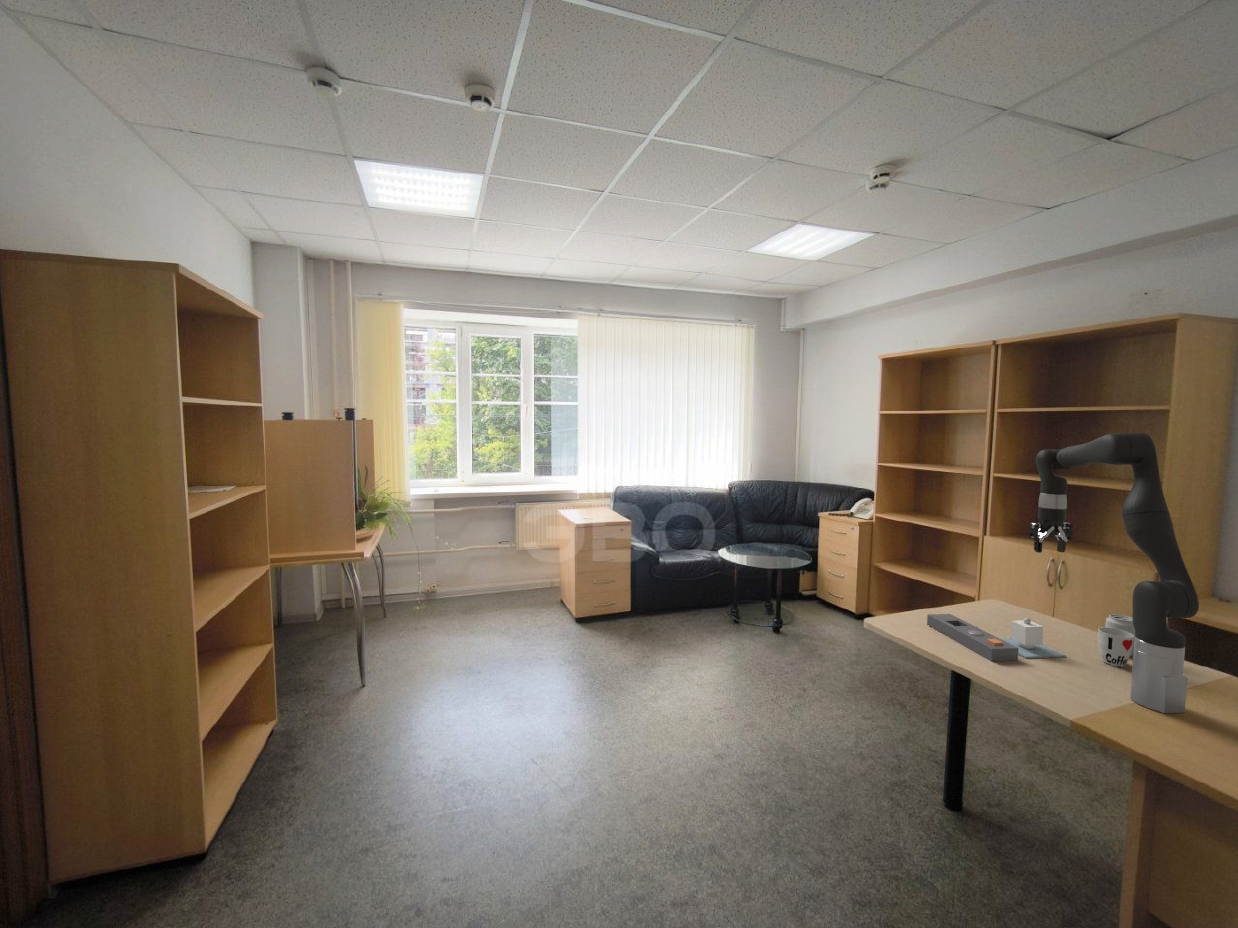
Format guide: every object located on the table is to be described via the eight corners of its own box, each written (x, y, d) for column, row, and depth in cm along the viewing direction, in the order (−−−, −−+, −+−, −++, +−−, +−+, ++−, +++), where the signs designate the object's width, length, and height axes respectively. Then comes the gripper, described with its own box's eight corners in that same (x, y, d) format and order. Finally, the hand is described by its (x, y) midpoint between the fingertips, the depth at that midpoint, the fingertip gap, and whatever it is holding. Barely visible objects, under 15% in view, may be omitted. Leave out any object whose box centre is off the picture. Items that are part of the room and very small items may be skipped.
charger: (1042, 649, 168) (1043, 621, 168) (1025, 650, 168) (1025, 622, 168) (1028, 642, 174) (1028, 615, 174) (1011, 643, 174) (1011, 616, 173)
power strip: (1017, 660, 162) (1018, 645, 162) (991, 661, 162) (991, 646, 161) (949, 624, 192) (950, 611, 192) (927, 624, 192) (927, 612, 191)
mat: (1065, 657, 165) (1066, 655, 165) (1025, 658, 164) (1025, 656, 164) (1028, 639, 179) (1028, 637, 179) (990, 640, 178) (990, 638, 178)
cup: (1101, 665, 159) (1103, 634, 158) (1092, 655, 166) (1094, 625, 165) (1136, 671, 155) (1138, 639, 155) (1125, 660, 162) (1127, 630, 162)
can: (1121, 648, 172) (1124, 613, 171) (1142, 658, 164) (1145, 621, 164) (1097, 647, 173) (1100, 612, 172) (1116, 656, 165) (1119, 620, 164)
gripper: (1043, 508, 175) (1040, 554, 176) (1081, 507, 176) (1078, 554, 177) (1024, 505, 182) (1021, 549, 184) (1061, 504, 183) (1058, 549, 185)
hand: (1049, 551), depth 180 cm, fingers open, 8 cm apart
